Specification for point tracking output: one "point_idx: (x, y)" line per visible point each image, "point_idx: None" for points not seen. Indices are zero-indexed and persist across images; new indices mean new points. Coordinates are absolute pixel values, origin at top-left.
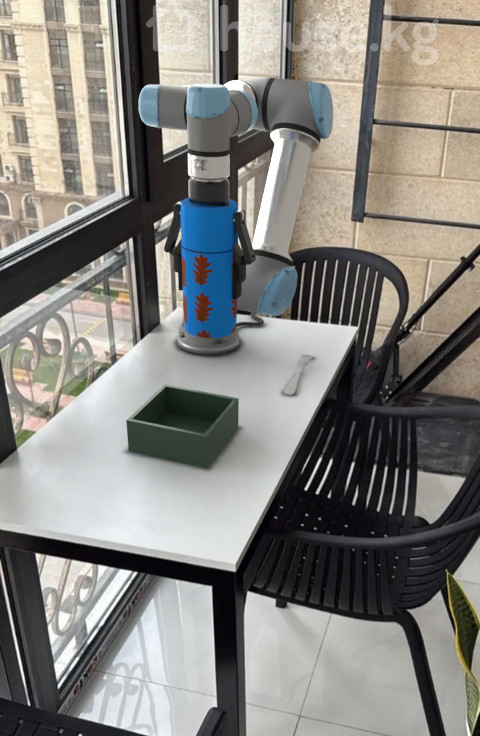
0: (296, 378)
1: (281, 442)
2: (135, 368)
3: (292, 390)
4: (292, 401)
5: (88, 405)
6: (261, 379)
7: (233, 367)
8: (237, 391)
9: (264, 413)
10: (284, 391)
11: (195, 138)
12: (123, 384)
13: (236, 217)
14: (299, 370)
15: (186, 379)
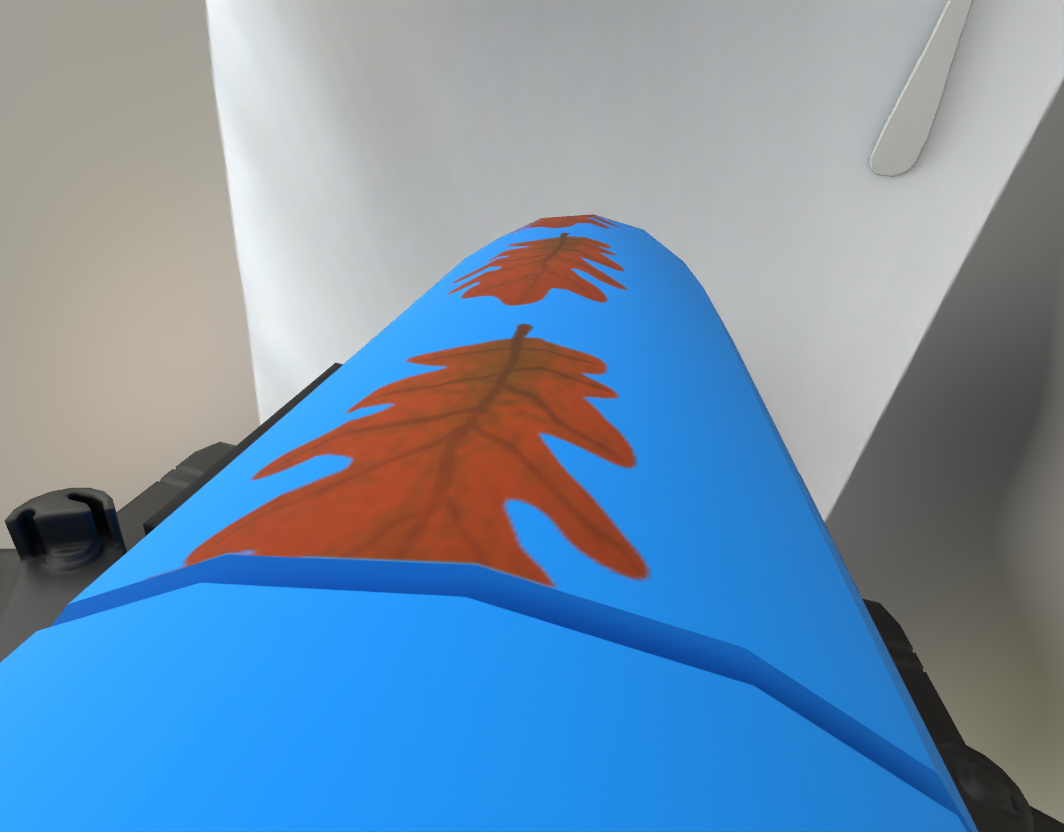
0: (956, 19)
1: (814, 469)
2: (274, 63)
3: (910, 150)
4: (891, 224)
5: (281, 354)
6: (781, 40)
7: None
8: (681, 183)
9: (776, 326)
10: (872, 161)
11: None
12: (300, 210)
13: None
14: None
15: (480, 119)
